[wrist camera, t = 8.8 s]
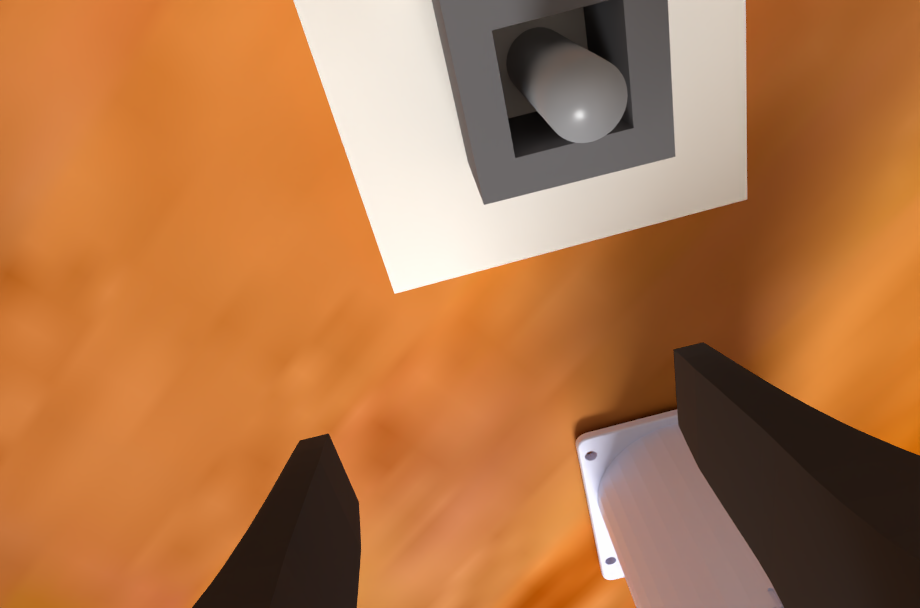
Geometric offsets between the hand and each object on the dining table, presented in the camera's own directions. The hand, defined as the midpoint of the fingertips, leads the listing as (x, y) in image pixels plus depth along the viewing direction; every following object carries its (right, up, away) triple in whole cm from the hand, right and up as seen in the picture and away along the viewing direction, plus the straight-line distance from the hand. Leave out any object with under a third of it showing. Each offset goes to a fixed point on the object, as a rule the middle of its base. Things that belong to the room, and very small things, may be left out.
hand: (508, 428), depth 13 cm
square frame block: (+1, +10, +5) cm, 11 cm away
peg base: (+1, +10, +6) cm, 12 cm away
